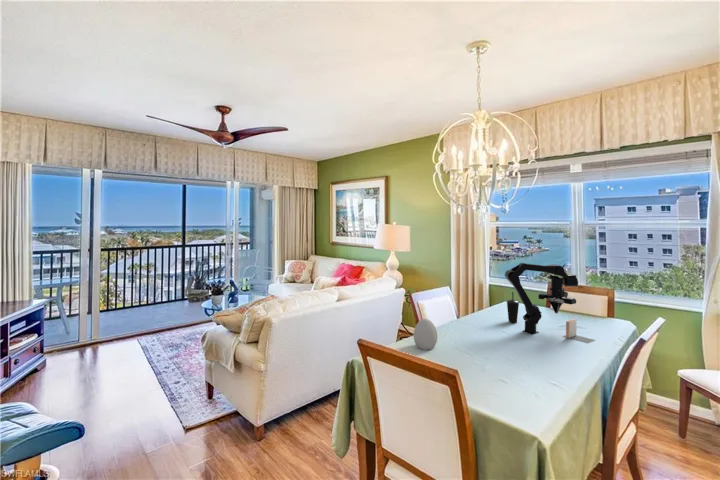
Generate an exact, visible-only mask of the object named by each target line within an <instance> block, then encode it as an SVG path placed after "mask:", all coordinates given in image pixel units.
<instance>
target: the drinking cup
mask: <svg viewBox="0 0 720 480" xmlns="http://www.w3.org/2000/svg"><path fill="white" fill-rule="evenodd" d="M511 295H512V298H511V299H508V300H506V307H507V319H508V323H509V322H510V323H509V324H517V323H518V314H519V308H520V307H519V305H520V301H518V300H517V299H514V291H512V292H511Z"/></svg>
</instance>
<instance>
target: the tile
mask: <svg viewBox="0 0 720 480" xmlns="http://www.w3.org/2000/svg"><path fill="white" fill-rule="evenodd" d="M565 335H566V339H569V338H570V337H573V336H576V335H577V319H575V318H574V319H569V320H567V321H565Z"/></svg>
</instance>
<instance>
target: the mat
mask: <svg viewBox="0 0 720 480" xmlns="http://www.w3.org/2000/svg"><path fill="white" fill-rule="evenodd" d="M562 338H566V334H565V335H562ZM566 339H567V338H566ZM568 339H569V340H572V341H575V342H576V341H577V342H580V343H585V344H590V343H593V342H596V339H592V338H589V337H585V336H581V335H577V334H576V336H573V337H570V338H568Z"/></svg>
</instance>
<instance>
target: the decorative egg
mask: <svg viewBox="0 0 720 480" xmlns="http://www.w3.org/2000/svg"><path fill="white" fill-rule="evenodd" d="M437 332H438V331H437V327H436V326H435V324H434V323H433V322H432V321H431V320H430V319H428V318H422V319H420V320H419V321H418V322H417V323H416V325H415V326H414V331H413V341H414V343H415V346H416V347H417V348H418V349H420V350H423V351H426V350H427V351H428V350H432V349H434V348H435V346H436V345H437V342H438V333H437Z"/></svg>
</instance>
